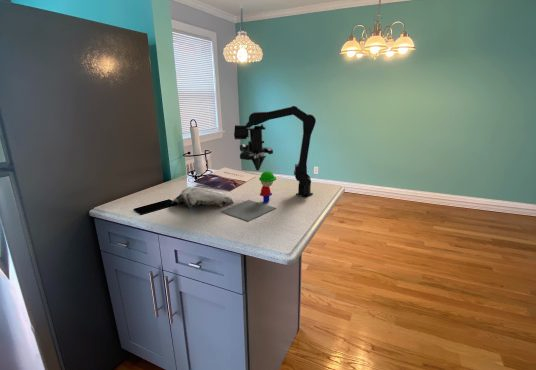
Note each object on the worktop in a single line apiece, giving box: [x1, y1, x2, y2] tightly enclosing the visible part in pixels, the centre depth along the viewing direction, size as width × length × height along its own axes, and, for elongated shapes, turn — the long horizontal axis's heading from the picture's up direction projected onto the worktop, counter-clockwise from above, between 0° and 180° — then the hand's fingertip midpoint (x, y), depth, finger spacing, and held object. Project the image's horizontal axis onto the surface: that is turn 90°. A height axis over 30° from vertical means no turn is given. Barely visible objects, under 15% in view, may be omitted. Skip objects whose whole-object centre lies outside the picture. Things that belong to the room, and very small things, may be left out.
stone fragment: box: [170, 186, 235, 208], centre depth 143 cm, size 25×29×6 cm
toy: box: [258, 170, 277, 204], centre depth 140 cm, size 8×8×15 cm
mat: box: [219, 199, 277, 223], centre depth 133 cm, size 18×17×1 cm
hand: (257, 170), depth 149 cm, fingers closed
